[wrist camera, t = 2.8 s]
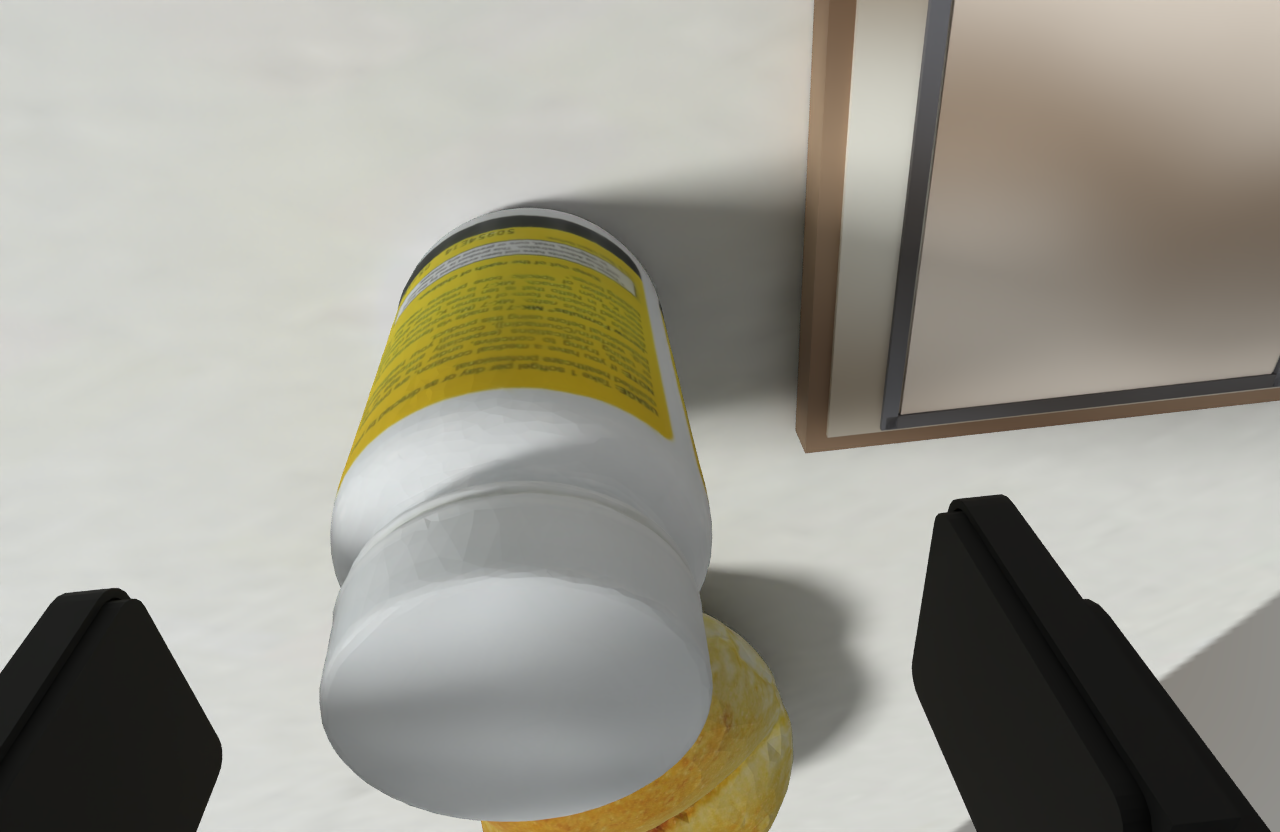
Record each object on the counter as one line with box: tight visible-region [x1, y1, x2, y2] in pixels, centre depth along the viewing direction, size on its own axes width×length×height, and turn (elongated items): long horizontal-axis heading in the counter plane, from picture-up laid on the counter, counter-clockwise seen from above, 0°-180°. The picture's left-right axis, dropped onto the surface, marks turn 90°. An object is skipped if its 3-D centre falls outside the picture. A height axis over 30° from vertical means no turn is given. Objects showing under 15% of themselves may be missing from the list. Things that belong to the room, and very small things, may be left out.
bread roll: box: [481, 612, 793, 832], centre depth 19 cm, size 8×9×4 cm
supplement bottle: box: [320, 208, 713, 822], centre depth 12 cm, size 5×5×8 cm
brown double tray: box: [796, 0, 1280, 453], centre depth 12 cm, size 15×11×2 cm
